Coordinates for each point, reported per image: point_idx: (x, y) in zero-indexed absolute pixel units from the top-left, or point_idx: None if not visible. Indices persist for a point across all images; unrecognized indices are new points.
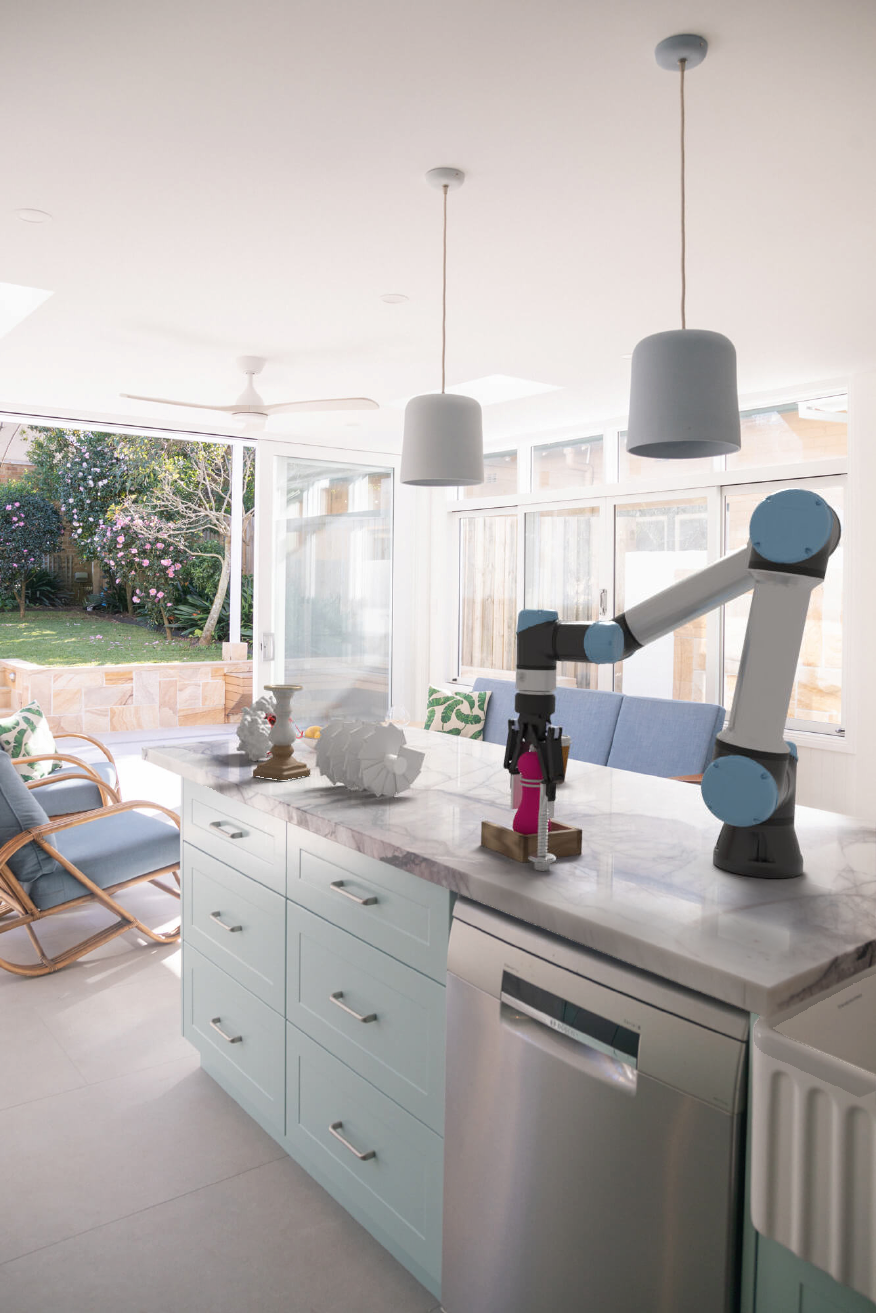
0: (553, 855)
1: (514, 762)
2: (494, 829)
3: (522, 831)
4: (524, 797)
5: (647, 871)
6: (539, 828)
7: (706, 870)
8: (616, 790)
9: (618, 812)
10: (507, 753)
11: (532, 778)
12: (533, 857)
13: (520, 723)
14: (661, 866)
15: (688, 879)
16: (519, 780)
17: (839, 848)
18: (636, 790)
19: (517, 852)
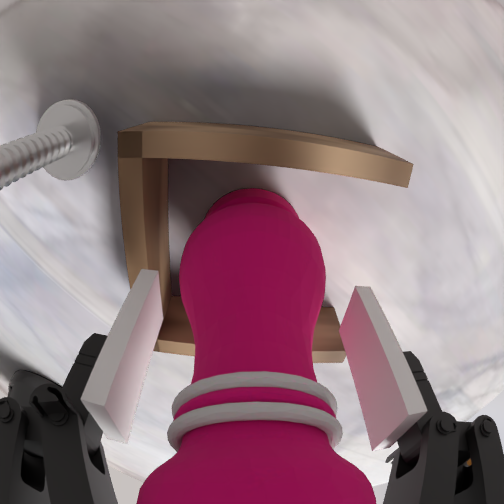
0: (51, 171)
1: (429, 485)
2: (324, 143)
3: (225, 208)
4: (253, 320)
5: (35, 310)
6: (1, 146)
7: (40, 364)
8: (390, 466)
9: (336, 452)
10: (495, 493)
11: (195, 437)
12: (57, 107)
13: None
14: (57, 344)
15: (5, 319)
16: (381, 410)
17: (110, 461)
18: (374, 474)
19: (169, 124)
